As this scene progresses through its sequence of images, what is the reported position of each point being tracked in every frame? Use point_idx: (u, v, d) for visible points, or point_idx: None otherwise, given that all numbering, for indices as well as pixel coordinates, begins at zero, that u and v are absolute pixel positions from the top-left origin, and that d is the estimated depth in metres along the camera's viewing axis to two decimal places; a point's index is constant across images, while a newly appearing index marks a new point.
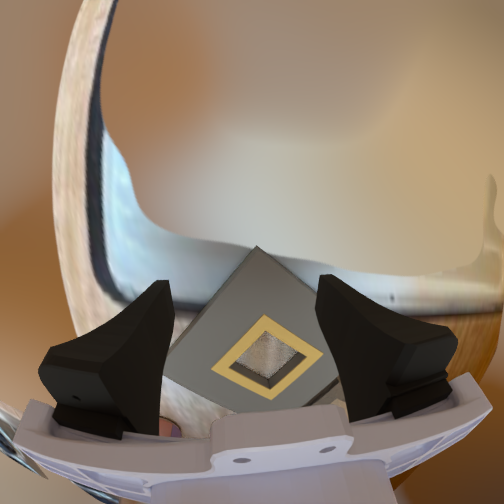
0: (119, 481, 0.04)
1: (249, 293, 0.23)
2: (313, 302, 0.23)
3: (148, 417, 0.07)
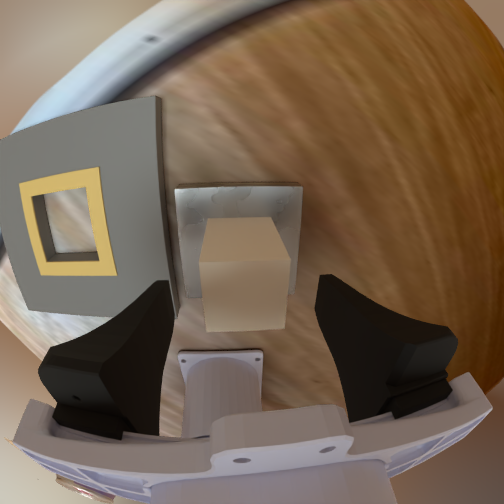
0: (119, 481, 0.04)
1: (3, 178, 0.14)
2: (40, 131, 0.13)
3: (148, 417, 0.07)
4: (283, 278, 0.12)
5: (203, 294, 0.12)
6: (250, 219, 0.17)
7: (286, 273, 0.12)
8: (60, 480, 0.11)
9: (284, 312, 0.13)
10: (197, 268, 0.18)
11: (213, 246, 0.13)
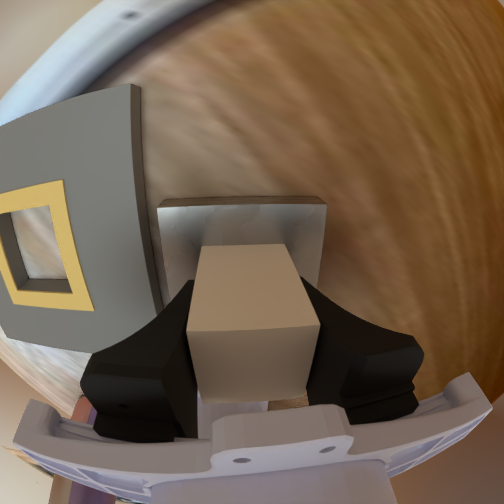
0: (119, 481, 0.04)
1: None
2: (0, 136, 0.09)
3: (191, 420, 0.08)
4: (307, 347, 0.08)
5: (195, 367, 0.08)
6: (258, 249, 0.13)
7: (312, 341, 0.08)
8: None
9: (305, 382, 0.09)
10: None
11: (208, 297, 0.09)
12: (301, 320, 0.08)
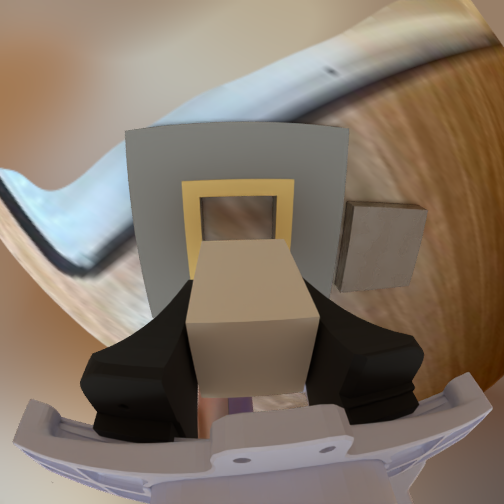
0: (119, 481, 0.04)
1: (150, 173, 0.18)
2: (221, 130, 0.17)
3: (191, 420, 0.08)
4: (307, 339, 0.08)
5: (195, 360, 0.08)
6: (257, 244, 0.13)
7: (312, 333, 0.08)
8: None
9: (304, 376, 0.09)
10: (355, 268, 0.22)
11: (207, 290, 0.09)
12: (300, 312, 0.08)
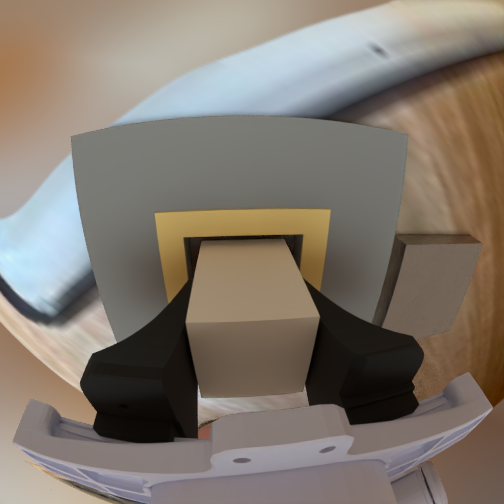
0: (119, 481, 0.04)
1: (108, 199, 0.11)
2: (217, 130, 0.10)
3: (191, 420, 0.08)
4: (307, 339, 0.08)
5: (195, 359, 0.08)
6: (257, 243, 0.13)
7: (312, 333, 0.08)
8: None
9: (304, 376, 0.09)
10: (396, 320, 0.16)
11: (207, 290, 0.09)
12: (300, 312, 0.08)
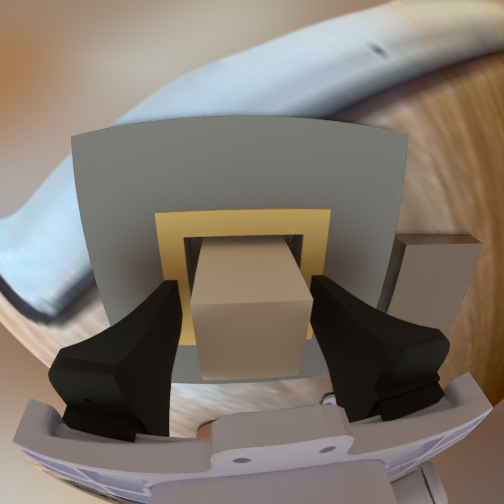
0: (119, 481, 0.04)
1: (109, 199, 0.11)
2: (217, 130, 0.10)
3: (159, 418, 0.07)
4: (302, 321, 0.09)
5: (197, 341, 0.09)
6: (256, 236, 0.14)
7: (306, 316, 0.09)
8: None
9: (300, 358, 0.10)
10: None
11: (210, 276, 0.10)
12: (295, 295, 0.09)
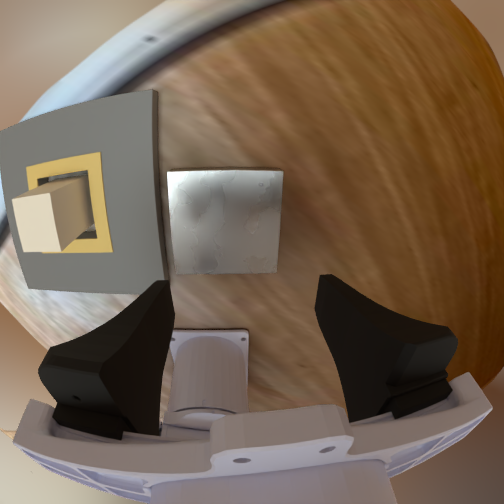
0: (119, 481, 0.04)
1: (10, 162, 0.15)
2: (48, 119, 0.14)
3: (148, 417, 0.07)
4: (49, 207, 0.13)
5: (16, 221, 0.13)
6: (74, 177, 0.18)
7: (49, 203, 0.13)
8: None
9: (56, 236, 0.14)
10: (186, 245, 0.20)
11: (30, 191, 0.14)
12: (46, 192, 0.13)
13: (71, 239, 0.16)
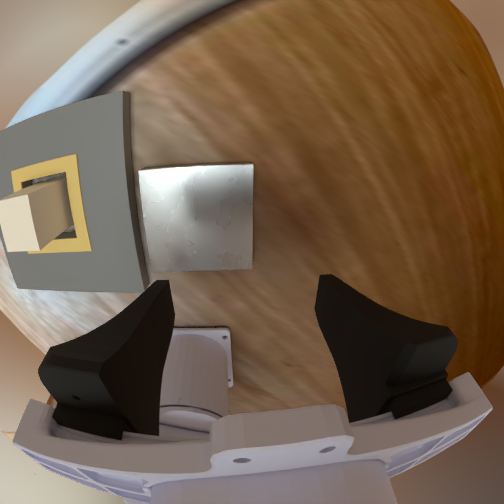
0: (119, 481, 0.04)
1: None
2: (29, 125, 0.14)
3: (148, 417, 0.07)
4: (27, 208, 0.13)
5: (0, 223, 0.13)
6: (55, 179, 0.17)
7: (28, 204, 0.13)
8: None
9: (35, 236, 0.14)
10: (160, 243, 0.20)
11: (12, 194, 0.14)
12: (24, 194, 0.13)
13: (50, 238, 0.16)
